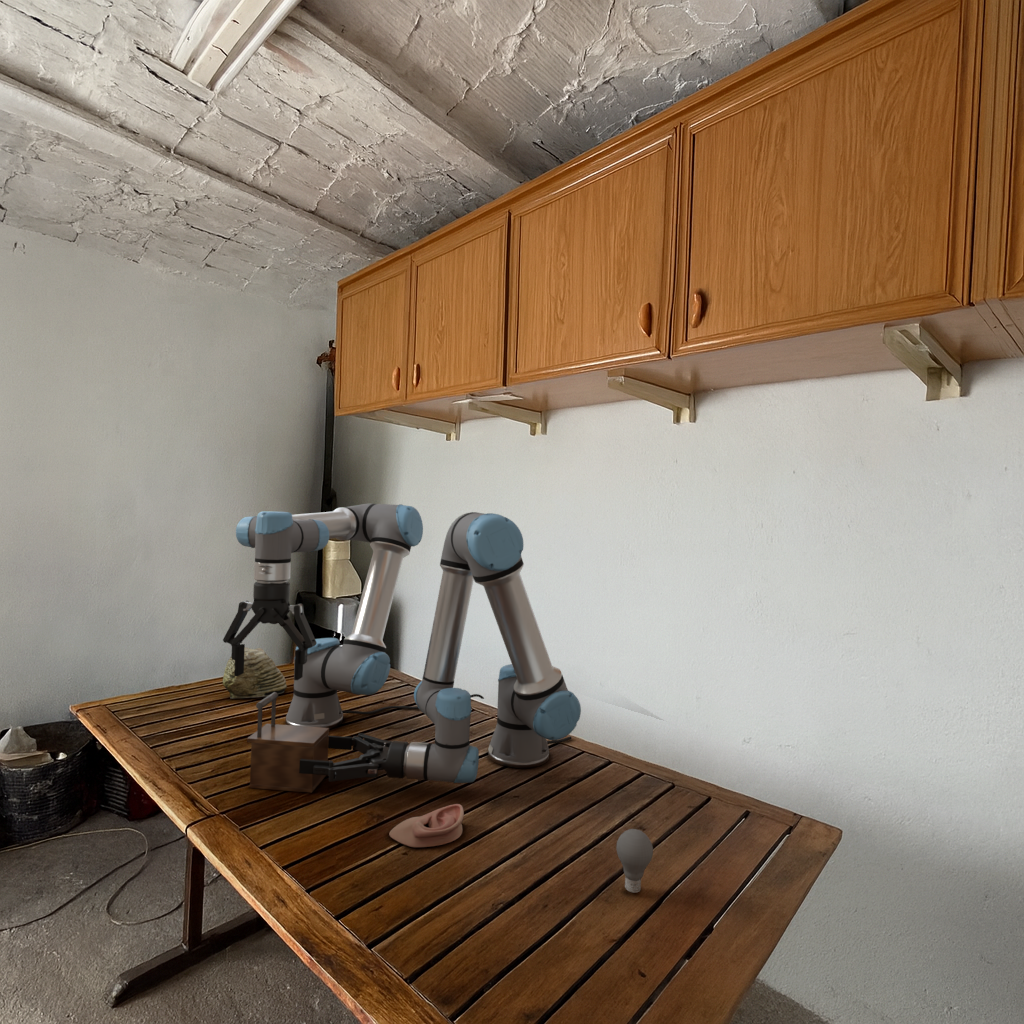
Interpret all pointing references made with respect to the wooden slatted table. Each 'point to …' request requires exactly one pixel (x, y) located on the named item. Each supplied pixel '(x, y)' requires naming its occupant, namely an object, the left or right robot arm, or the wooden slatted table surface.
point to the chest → (285, 766)
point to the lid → (284, 730)
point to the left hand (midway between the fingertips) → (268, 676)
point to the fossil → (254, 676)
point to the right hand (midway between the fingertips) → (312, 753)
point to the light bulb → (634, 857)
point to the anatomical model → (431, 828)
